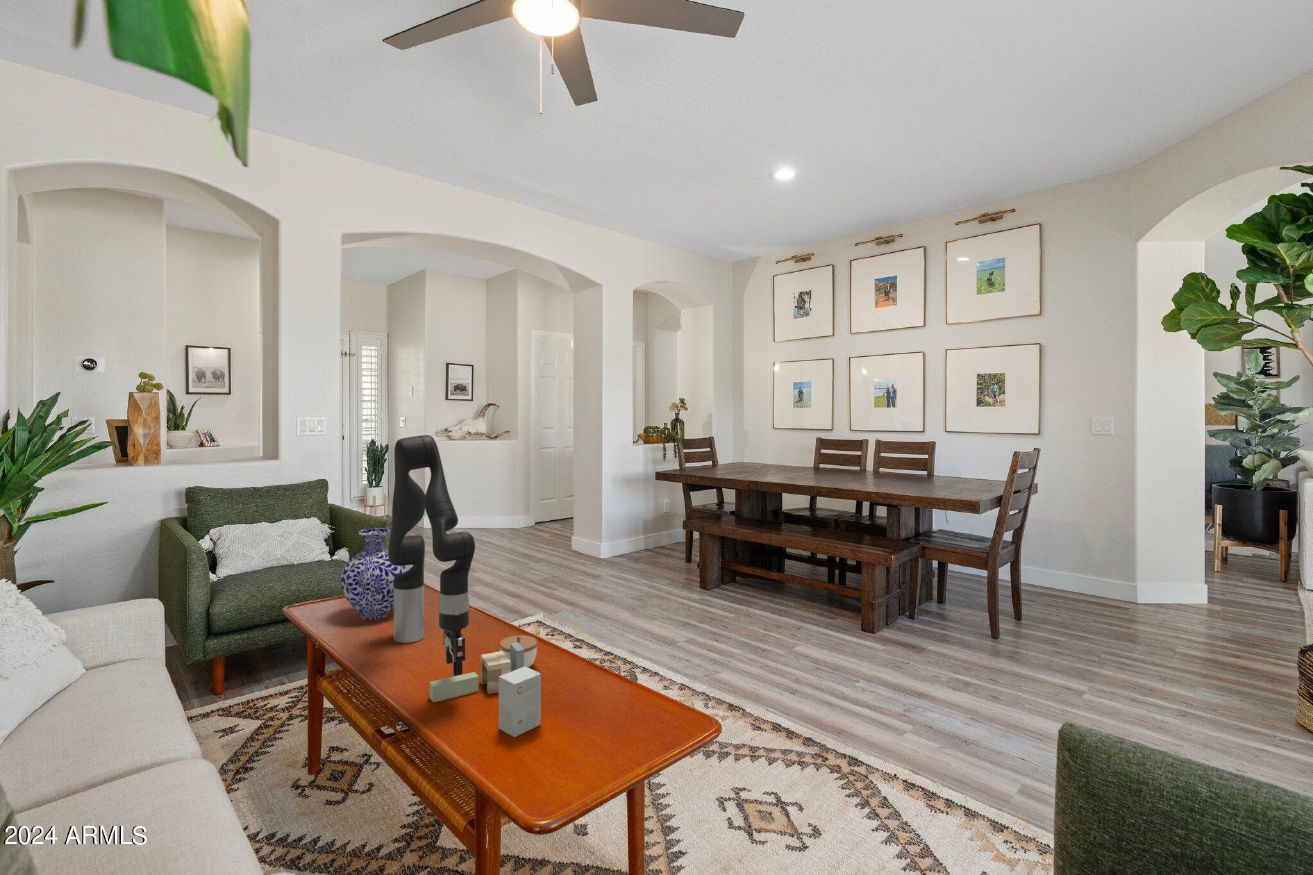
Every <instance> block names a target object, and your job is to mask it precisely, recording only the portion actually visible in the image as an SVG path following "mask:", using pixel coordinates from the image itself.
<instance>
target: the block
mask: <svg viewBox="0 0 1313 875" xmlns="http://www.w3.org/2000/svg"><path fill="white" fill-rule="evenodd" d="M509 672H511V661H510V660H509V659H508V658H507V656H506V655H505V654H504V653H503V651H500V650H499V651H495V652H490V653H489V652H488V653H484V654H480V684H481V685H486V692H487V694H488V695H492V694H495V693H496V694H497V693H499V676H502V675H504V674H507V673H509Z"/></svg>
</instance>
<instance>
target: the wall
mask: <svg viewBox="0 0 1313 875" xmlns="http://www.w3.org/2000/svg"><path fill="white" fill-rule="evenodd" d="M510 661H511V672H512V671H514V670H517V669H520V668H522V667H524V649H523V648H522V647H521V646H520V645H519V644H518V642H516V643H510Z"/></svg>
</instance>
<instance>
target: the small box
mask: <svg viewBox="0 0 1313 875" xmlns="http://www.w3.org/2000/svg"><path fill="white" fill-rule="evenodd" d="M541 691H542V673H540V672H539V671H536V670H534V669H532V668H530V667H529V668H527V667H522V668H520V669H517V670H514V671H512V672H509V673H507V674H504V675H502V676H499V692H498V729H499V730H501V731H502V732H504V733H506V734H508V735H510V736H511V737H513V738H516V737H518V736H520V735H522V734H525V733H526V732H528V731H530V730H532V729H534V728H537V727H538V726H541V724H542V723H541V721H542V720H541V716H542V714H541V712H542V710H541V709H542V708H541V707H542V706H541V705H542V702H541V700H542V697H541V696H542V694H541V693H542V692H541Z"/></svg>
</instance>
